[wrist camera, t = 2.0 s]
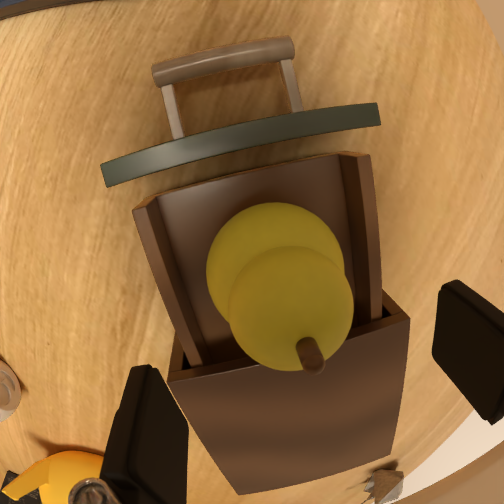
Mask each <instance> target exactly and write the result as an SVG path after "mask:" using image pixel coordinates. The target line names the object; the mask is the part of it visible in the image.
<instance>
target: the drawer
mask: <svg viewBox="0 0 504 504" xmlns="http://www.w3.org/2000/svg"><path fill="white" fill-rule="evenodd" d="M294 56H295V49H294V44H293V41H292V39H291V38H290V36H280V37H272V38H264V39H258V40H251V41H245V42H239V43H234V44H229V45H224V46H219V47H214V48H210V49H205V50H201V51H197V52H193V53H189V54H185V55H181V56H178V57H174V58H171V59H167V60H164V61H160V62H157V63H154V64H152V65H151V71H152V76H153V79H154V82H155V85H156V87H157V88H158V89H160V88H161V92H162V96H163V100H164V105H165V109H166V113H167V117H168V121H169V125H170V130H171V134H172V138H173V140H172V141H169V142H165V143H162V144H159V145H155V146H152V147H149V148H146V149H143V150H140V151H137V152H134V153H131V154H128V155H125V156H122V157H119V158H116V159H113V160H111V161H108V162H105V163H102V164H101V165H100V167H101V170H102V174H103V177H104V181H105V184H106V187H107V188H109V187H112V186H115V185H118V184H121V183H124V182H127V181H130V180H133V179H136V178H139V177H142V176H146V175H149V174H152V173H155V172H159V171H162V170H165V169H169V168H172V167H176V166H179V165H183V164H187V163H190V162H194V161H198V160H201V159H205V158H209V157H213V156H217V155H221V154H225V153H229V152H234V151H238V150H242V149H247V148H251V147H256V146H260V145H265V144H270V143H275V142H280V141H285V140H290V139H295V138H301V137H306V136H312V135H318V134H324V133H330V132H336V131H343V130H350V129H357V128H365V127H373V126H380V125H381V121H380V115H379V110H378V105H377V103H376V102H375V103H364V104H354V105H345V106H337V107H329V108H321V109H314V110H308V111H304V110H303V106H302V101H301V97H300V92H299V88H298V84H297V80H296V76H295V72H294V68H293V64H292V60H293V59H294ZM275 62H279V63H278V65H279V69H280V73H281V77H282V81H283V85H284V89H285V93H286V98H287V102H288V106H289V111H290V113H289V114H284V115H278V116H273V117H267V118H262V119H257V120H253V121H248V122H243V123H239V124H234V125H230V126H225V127H221V128H217V129H213V130H209V131H205V132H201V133H197V134H194V135H190V136H185V131H184V127H183V123H182V119H181V115H180V111H179V107H178V103H177V98H176V94H175V90H174V86H173V84H177V83H180V82H184V81H188V80H191V79H195V78H199V77H203V76H207V75H212V74H216V73H220V72H225V71H230V70H235V69H240V68H245V67H250V66H256V65H262V64H268V63H275ZM273 202H279V203H288V204H292V205H296V206H299V207H302V208H304V209H306V210H308V211H309V212H311V213H313V214H315V215H316V216H317V217H319V218H320V219H321V220H322V221H323V222H324V223H325V224H326V225H327V226H328V227H329V228H330V230H331V231H332V233H333V234H334V235H335V237H336V239H337V241H338V243H339V246H340V249H341V251H342V255H343V260H344V273H345V274H344V275H345V277H346V279H347V281H348V283H349V285H350V288H351V291H352V296H353V303H354V312H353V319H352V324H351V328H350V329H353V328H356V327H359V326H362V325H365V324H368V323H371V322H374V321H377V320H380V319H382V279H381V257H380V241H379V228H378V216H377V206H376V197H375V188H374V180H373V172H372V165H371V158H370V155H369V154H362V153H356V152H349V151H342V152H336V153H330V154H325V155H319V156H314V157H309V158H304V159H299V160H294V161H289V162H284V163H279V164H275V165H270V166H265V167H261V168H257V169H252V170H248V171H244V172H239V173H235V174H231V175H227V176H223V177H219V178H215V179H211V180H207V181H203V182H199V183H196V184H192V185H188V186H185V187H181V188H177V189H174V190H170V191H167V192H163V193H160V194H156V195H153V196H150V197H146V198H145V199H144V200H143V201H142V202H141V203H140V204H139V205H137V206H136V207H135V208H134V209H133V210H132V214H133V217H134V220H135V223H136V226H137V229H138V232H139V235H140V238H141V241H142V244H143V247H144V250H145V253H146V256H147V259H148V262H149V264H150V267H151V270H152V273H153V275H154V278H155V281H156V283H157V286H158V289H159V291H160V294H161V296H162V299H163V302H164V304H165V307H166V309H167V312H168V314H169V317H170V319H171V321H172V324H173V326H174V329H175V331H176V333H177V336H178V338H179V341H180V343H181V345H182V347H183V350H184V352H185V354H186V357H187V359H188V361H189V363H190V365H191V368H192V369H193V368H198V367H204V366H209V365H214V364H219V363H223V362H228V361H233V360H237V359H242V358H246V357H250V356H249V355H248V354H246V353H245V351H244V350H243V349H242V348H241V347H240V345H239V344H238V342H237V341H236V339H235V337H234V335H233V333H232V330H231V327H230V323H228V322H227V321H226V320H225V319H224V317H223V316H222V315H221V314H220V312H219V311H218V310H217V308H216V306H215V305H214V303H213V300H212V298H211V295H210V293H209V289H208V285H207V277H206V264H207V259H208V254H209V251H210V248H211V245H212V243H213V241H214V239H215V237H216V235H217V234H218V232H219V231H220V229H221V228H222V227H223V226H224V225H225V224H226V223H227V222H228V221H229V220H230V219H231V218H232V217H234V216H235V215H236V214H238V213H239V212H241V211H243V210H245V209H247V208H249V207H252V206H255V205H258V204H263V203H273Z"/></svg>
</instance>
